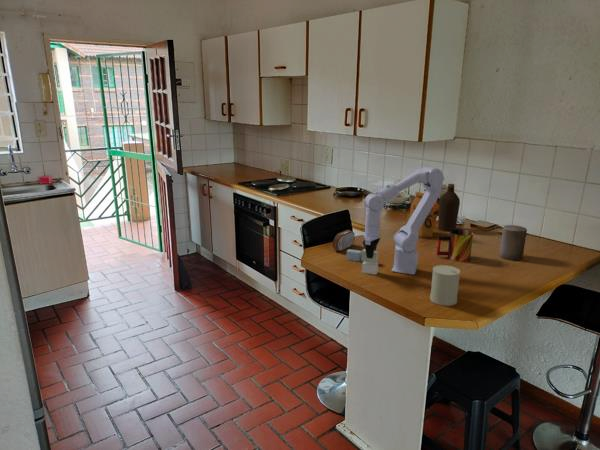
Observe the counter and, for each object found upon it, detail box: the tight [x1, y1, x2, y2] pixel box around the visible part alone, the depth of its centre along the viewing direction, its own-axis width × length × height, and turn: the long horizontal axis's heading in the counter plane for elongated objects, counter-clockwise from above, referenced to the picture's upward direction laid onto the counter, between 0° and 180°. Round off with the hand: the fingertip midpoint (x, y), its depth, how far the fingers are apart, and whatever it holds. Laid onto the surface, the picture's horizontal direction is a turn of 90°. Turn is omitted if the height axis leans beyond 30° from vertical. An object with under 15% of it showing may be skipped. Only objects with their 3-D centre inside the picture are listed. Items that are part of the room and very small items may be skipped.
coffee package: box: [409, 191, 435, 239], centre depth 225 cm, size 10×12×22 cm
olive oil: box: [437, 183, 461, 232], centre depth 235 cm, size 11×11×25 cm
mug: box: [436, 228, 474, 263], centre depth 193 cm, size 10×14×12 cm
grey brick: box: [361, 261, 379, 276], centre depth 178 cm, size 6×3×4 cm, turn 68°
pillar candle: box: [499, 224, 528, 261], centre depth 195 cm, size 10×10×15 cm
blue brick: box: [345, 248, 362, 262], centre depth 192 cm, size 6×3×4 cm, turn 68°
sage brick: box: [361, 248, 379, 263], centre depth 177 cm, size 6×3×4 cm, turn 68°
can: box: [429, 264, 461, 307], centre depth 153 cm, size 9×9×12 cm
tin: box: [332, 229, 356, 252], centre depth 205 cm, size 15×3×8 cm, turn 141°
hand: (370, 256), depth 177 cm, fingers closed on sage brick, 3 cm apart
